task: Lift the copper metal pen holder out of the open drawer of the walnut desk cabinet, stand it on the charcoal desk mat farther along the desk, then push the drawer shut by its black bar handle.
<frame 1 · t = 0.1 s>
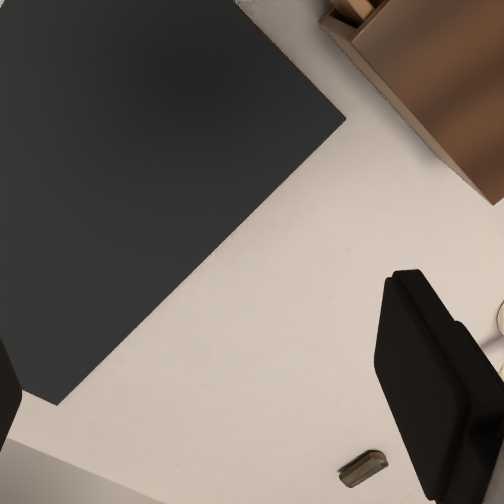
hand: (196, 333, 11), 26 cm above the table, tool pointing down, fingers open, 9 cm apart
desk mat: (70, 211, 38), on the table
block: (362, 462, 60), on the table
cabinet: (456, 25, 33), on the table
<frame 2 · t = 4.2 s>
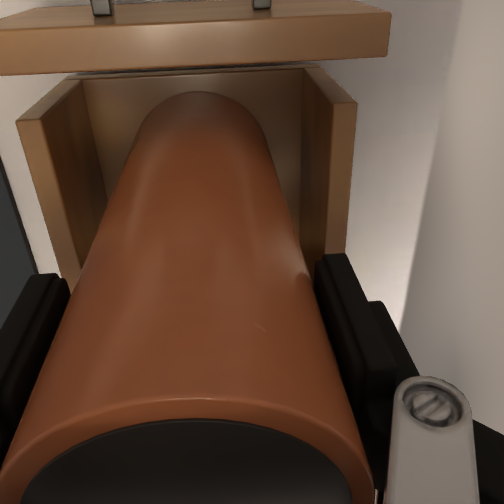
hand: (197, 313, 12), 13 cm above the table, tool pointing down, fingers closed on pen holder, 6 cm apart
drawer: (197, 142, 18), point 4 cm above the table, slide at 10.0 cm, touching pen holder
pen holder: (201, 160, 21), point 2 cm above the table, touching drawer, gripper
when the fingers open (11 cm above the table, at t = 12.0 s): pen holder stays where it is, resting on desk mat.
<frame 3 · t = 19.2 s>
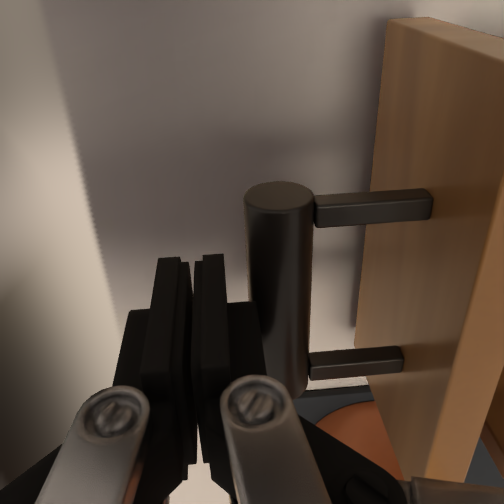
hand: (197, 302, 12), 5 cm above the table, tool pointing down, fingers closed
pen holder: (363, 441, 23), resting on desk mat
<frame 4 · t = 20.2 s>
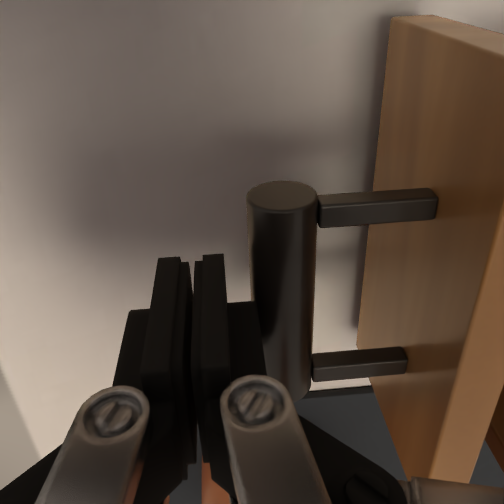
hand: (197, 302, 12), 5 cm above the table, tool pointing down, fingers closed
pen holder: (263, 452, 23), resting on desk mat
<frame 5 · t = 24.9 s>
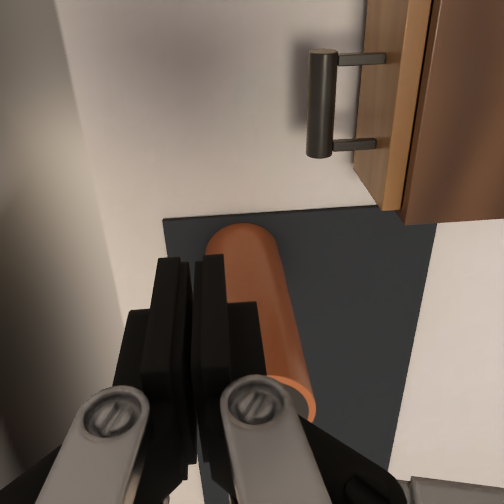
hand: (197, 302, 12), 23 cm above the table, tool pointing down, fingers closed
desk mat: (298, 386, 48), on the table
drawer: (449, 94, 29), point 4 cm above the table, slide at 0.0 cm, touching cabinet
pen holder: (242, 254, 39), resting on desk mat
cabinet: (477, 76, 33), on the table
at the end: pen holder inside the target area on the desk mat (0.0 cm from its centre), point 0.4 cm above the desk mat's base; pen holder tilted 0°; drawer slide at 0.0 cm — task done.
